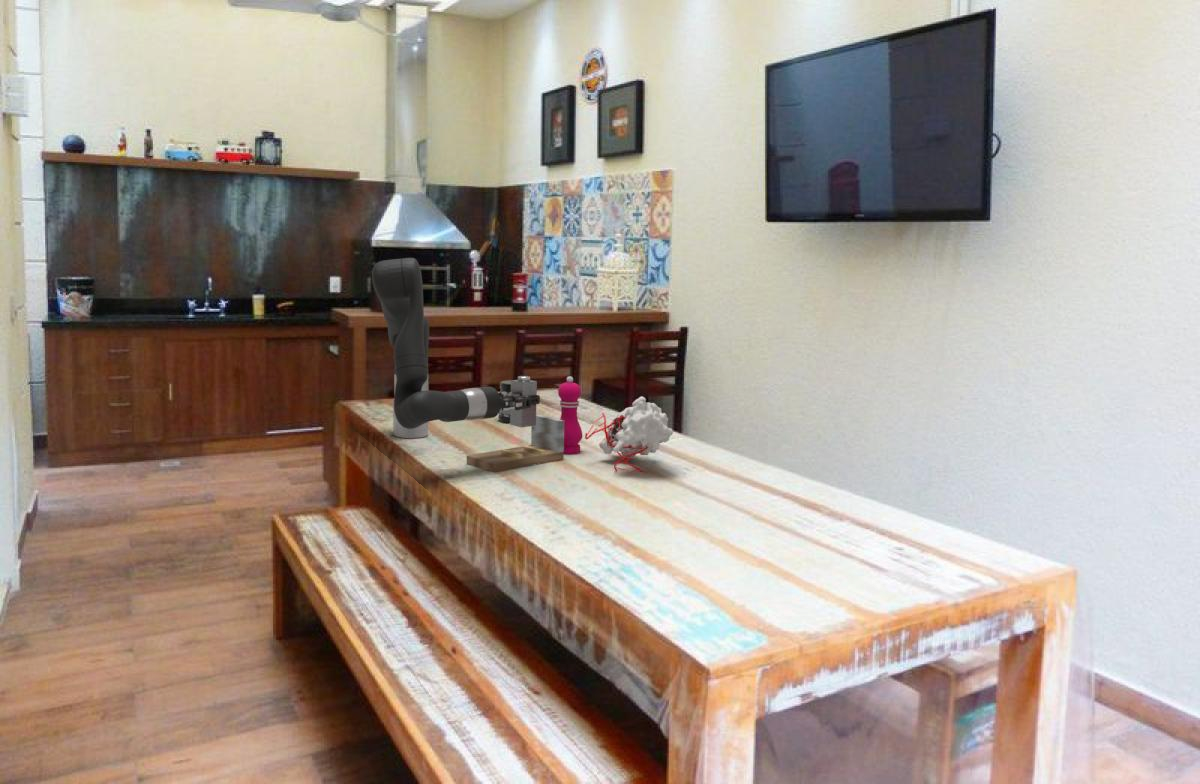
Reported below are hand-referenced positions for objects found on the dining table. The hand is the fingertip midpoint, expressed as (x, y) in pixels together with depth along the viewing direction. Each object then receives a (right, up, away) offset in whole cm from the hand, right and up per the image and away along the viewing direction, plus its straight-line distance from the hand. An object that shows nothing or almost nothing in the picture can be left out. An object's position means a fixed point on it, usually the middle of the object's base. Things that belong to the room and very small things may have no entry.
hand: (531, 398), depth 232 cm
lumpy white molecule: (+24, -17, -1) cm, 30 cm away
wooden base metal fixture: (-4, -16, +1) cm, 16 cm away
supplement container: (-9, -8, +55) cm, 56 cm away
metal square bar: (-2, -7, -1) cm, 7 cm away
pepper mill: (+9, -14, +14) cm, 22 cm away
